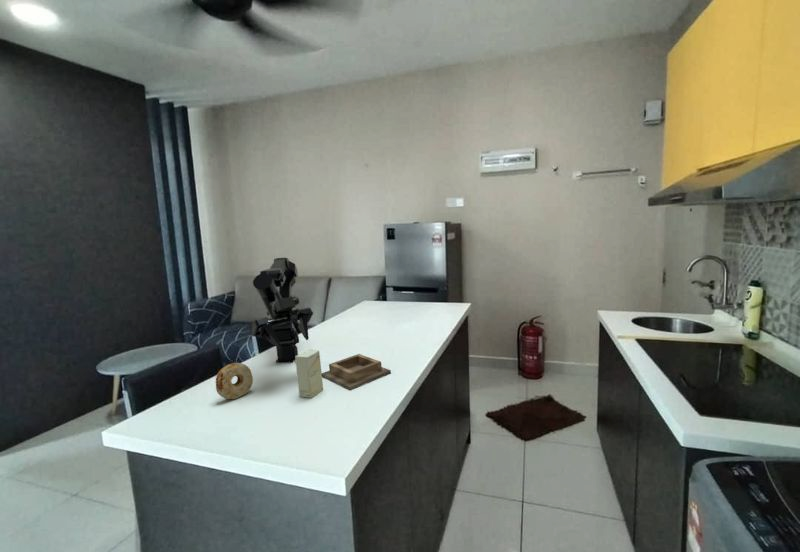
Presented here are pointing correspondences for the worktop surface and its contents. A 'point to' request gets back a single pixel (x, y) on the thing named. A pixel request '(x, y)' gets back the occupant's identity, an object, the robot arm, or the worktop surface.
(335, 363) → the socket
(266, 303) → the robot arm
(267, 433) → the worktop surface
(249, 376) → the stone disc
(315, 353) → the skincare box
